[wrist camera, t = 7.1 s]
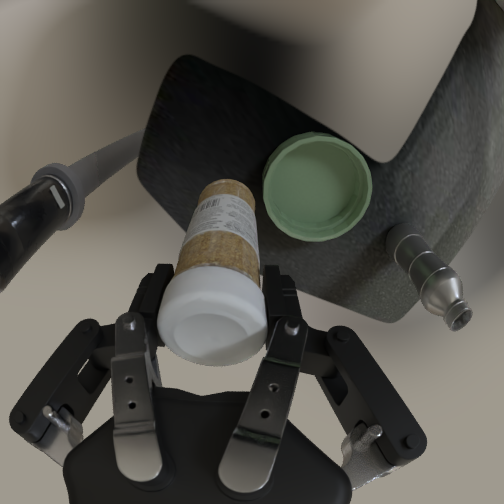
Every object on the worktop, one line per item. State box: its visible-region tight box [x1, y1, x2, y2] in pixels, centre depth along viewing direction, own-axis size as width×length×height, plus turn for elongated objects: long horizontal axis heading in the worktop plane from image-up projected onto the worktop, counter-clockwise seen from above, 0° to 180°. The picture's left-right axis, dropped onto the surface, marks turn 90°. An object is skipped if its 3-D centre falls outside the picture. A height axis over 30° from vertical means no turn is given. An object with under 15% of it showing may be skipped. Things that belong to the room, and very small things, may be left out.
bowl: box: [262, 132, 372, 242], centre depth 35 cm, size 14×14×4 cm
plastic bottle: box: [385, 223, 473, 331], centre depth 33 cm, size 6×7×20 cm
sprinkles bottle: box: [157, 179, 268, 366], centre depth 16 cm, size 5×5×13 cm
